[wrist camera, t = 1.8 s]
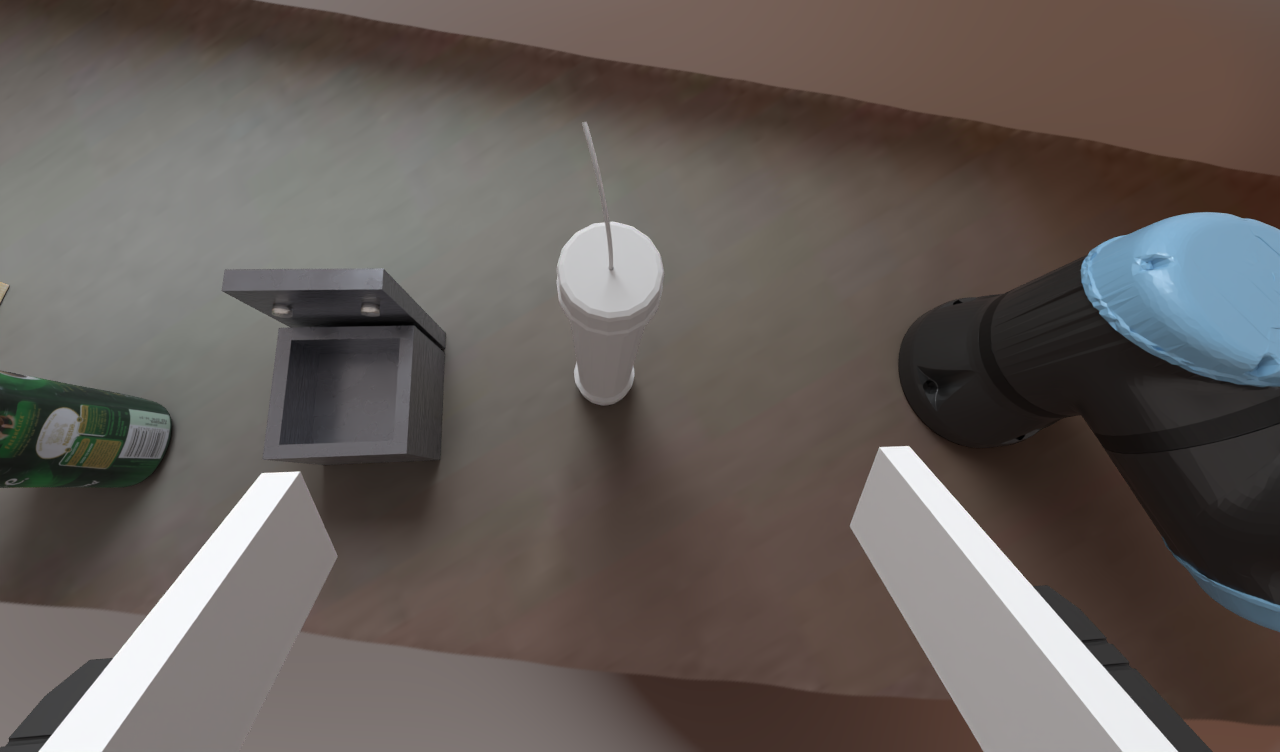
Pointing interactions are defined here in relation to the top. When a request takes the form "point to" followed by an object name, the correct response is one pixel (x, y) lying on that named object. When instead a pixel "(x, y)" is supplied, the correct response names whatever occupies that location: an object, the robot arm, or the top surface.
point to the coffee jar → (76, 435)
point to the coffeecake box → (3, 290)
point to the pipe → (608, 299)
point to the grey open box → (347, 366)
